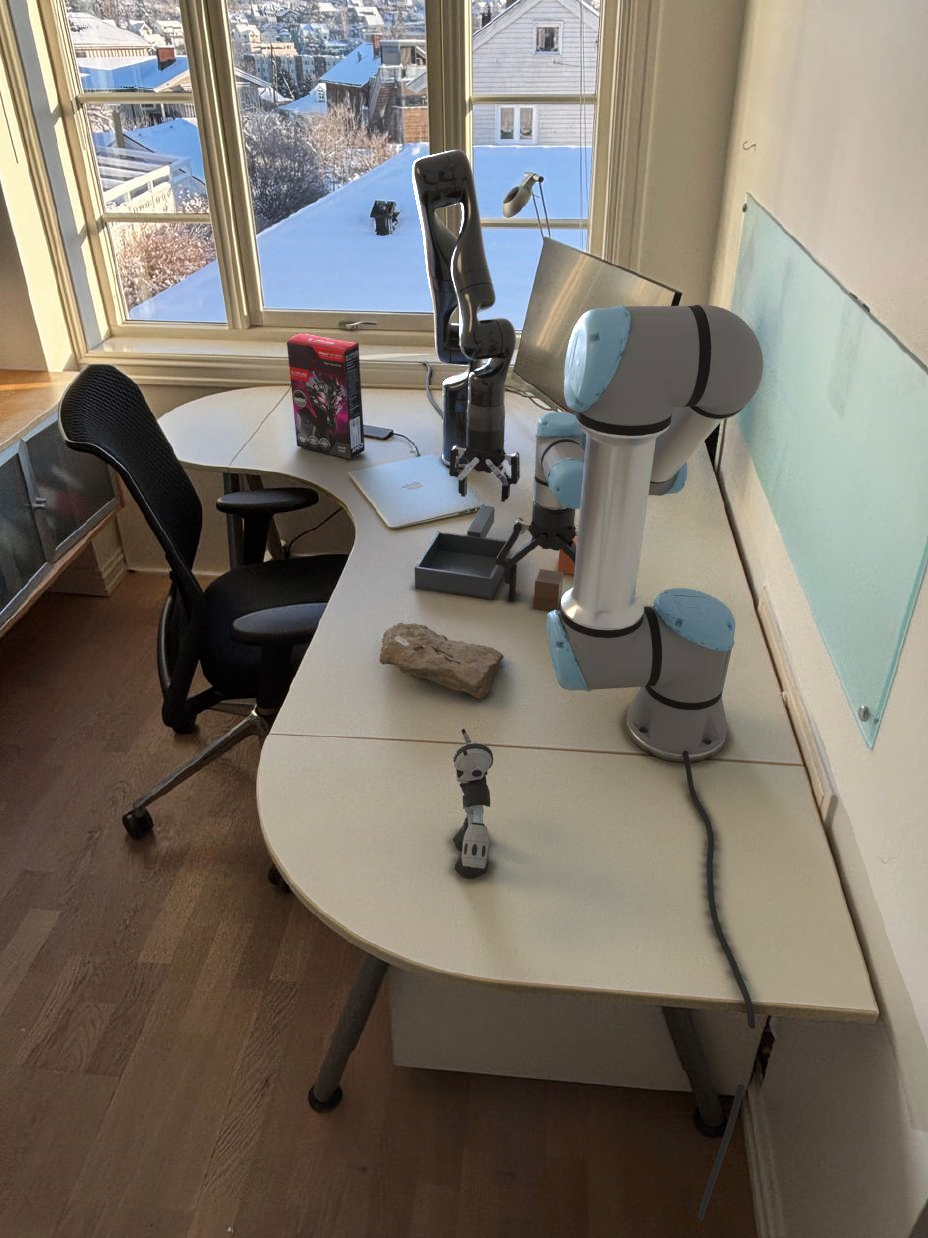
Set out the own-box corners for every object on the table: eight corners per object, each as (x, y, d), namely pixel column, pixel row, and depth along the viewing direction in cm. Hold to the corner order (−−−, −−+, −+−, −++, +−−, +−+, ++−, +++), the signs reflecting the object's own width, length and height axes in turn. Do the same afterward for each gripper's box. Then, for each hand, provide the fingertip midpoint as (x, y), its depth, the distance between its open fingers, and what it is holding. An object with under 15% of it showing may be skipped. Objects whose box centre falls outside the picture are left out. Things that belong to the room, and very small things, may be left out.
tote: (491, 600, 174) (492, 575, 171) (415, 588, 177) (414, 563, 174) (522, 533, 196) (523, 510, 193) (453, 524, 199) (453, 501, 196)
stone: (355, 671, 149) (362, 639, 147) (387, 639, 163) (394, 609, 160) (477, 715, 146) (486, 682, 144) (499, 678, 159) (507, 648, 157)
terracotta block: (580, 575, 181) (582, 549, 178) (557, 572, 182) (559, 546, 179) (583, 564, 185) (586, 538, 182) (561, 561, 186) (563, 535, 183)
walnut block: (557, 612, 171) (559, 584, 167) (533, 608, 172) (534, 580, 168) (561, 599, 174) (563, 572, 171) (538, 595, 175) (539, 568, 172)
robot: (495, 914, 114) (500, 797, 103) (456, 915, 114) (456, 798, 103) (484, 799, 130) (487, 688, 119) (450, 801, 130) (450, 689, 119)
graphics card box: (294, 447, 232) (283, 339, 217) (310, 437, 237) (301, 331, 222) (351, 461, 225) (344, 350, 210) (367, 450, 230) (361, 342, 215)
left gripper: (525, 420, 183) (521, 494, 192) (456, 412, 186) (455, 486, 195) (516, 433, 177) (513, 510, 186) (445, 425, 180) (445, 501, 189)
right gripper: (628, 500, 161) (616, 602, 173) (490, 483, 167) (487, 582, 179) (623, 519, 155) (611, 623, 167) (480, 501, 161) (478, 603, 173)
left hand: (483, 497), depth 190 cm, fingers open, 8 cm apart
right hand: (547, 602), depth 173 cm, fingers open, 13 cm apart
